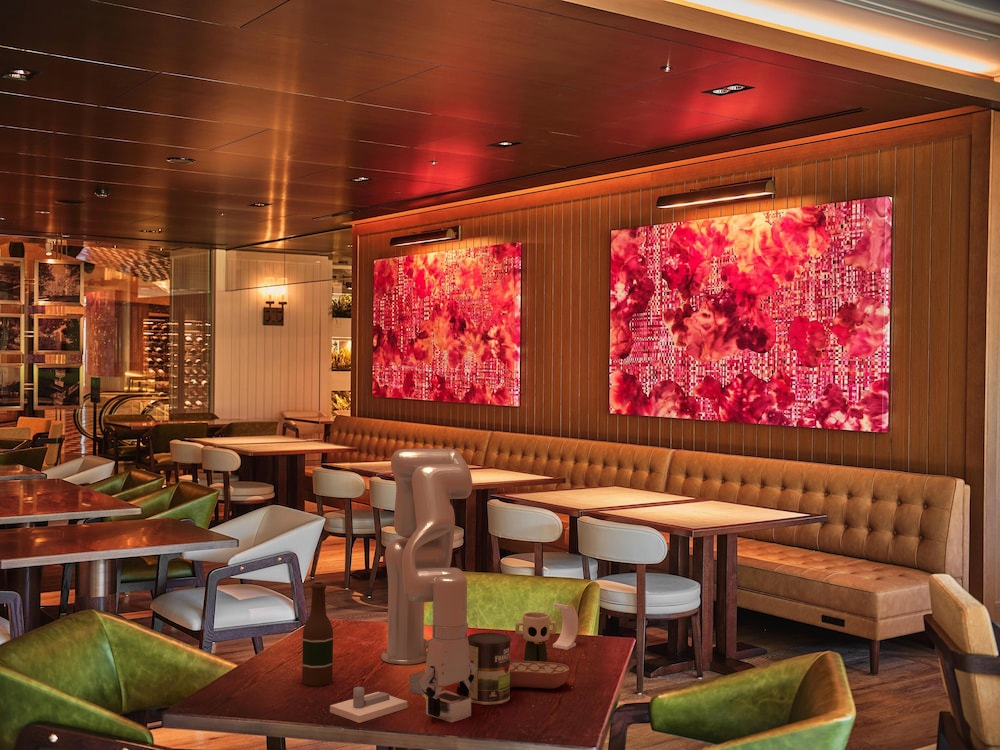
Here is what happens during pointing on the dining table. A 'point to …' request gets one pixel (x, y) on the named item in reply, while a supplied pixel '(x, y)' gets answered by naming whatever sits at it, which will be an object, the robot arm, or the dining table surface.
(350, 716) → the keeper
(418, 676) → the block
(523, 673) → the mitochondrion model
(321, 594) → the beer bottle
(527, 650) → the character mug
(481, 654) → the coffee can
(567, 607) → the headphone stand
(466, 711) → the link
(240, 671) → the dining table surface
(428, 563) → the robot arm
